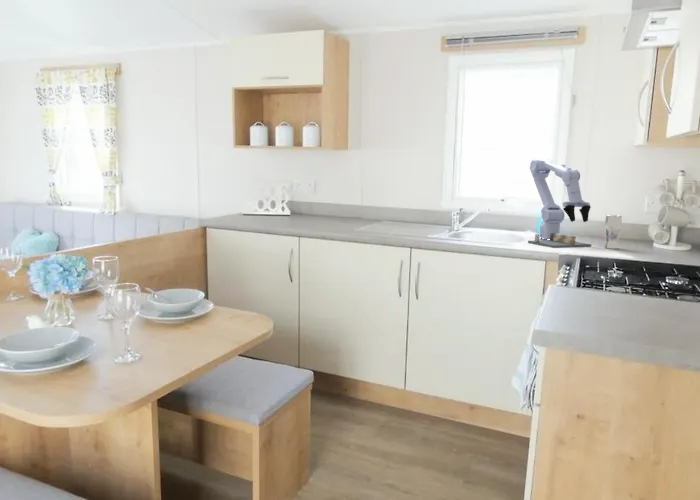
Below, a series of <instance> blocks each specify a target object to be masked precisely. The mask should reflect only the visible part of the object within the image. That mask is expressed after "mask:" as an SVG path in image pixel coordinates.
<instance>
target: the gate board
mask: <svg viewBox="0 0 700 500" xmlns="http://www.w3.org/2000/svg"><path fill="white" fill-rule="evenodd" d="M539 238H540V233H535V234H534V240H528V241H527V243H528V244H532V243H533V245H537V244H538V245H537V246H543V247H547V248H553V249H556V248H582V247H583V248H585V247H592V244H591V243H585V242H580V241H575V244H569V243H563V242H558V241H551V240H543V239H539Z"/></svg>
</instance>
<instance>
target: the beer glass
mask: <svg viewBox="0 0 700 500" xmlns="http://www.w3.org/2000/svg"><path fill="white" fill-rule="evenodd" d="M622 217H623V216H622V215H617V214H616V215H614V214H612V215H611V214H607V215H605V220H604V235H605V240H604V241H605V242H604V245H603V248H604V249H608V250H609V249H610V250H619V238H620V235H621V230H622V226H623V225H622V223H623V218H622Z"/></svg>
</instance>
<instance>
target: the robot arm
mask: <svg viewBox="0 0 700 500" xmlns="http://www.w3.org/2000/svg"><path fill="white" fill-rule="evenodd" d="M529 170H530V171H529V172H530V173H531V175H532V178H533V181H534V185H535V186H536V189H537V192H538V194H539V197H540V200H541V202H542V205H543V207H542V208H541V210H540V213H541V218H542V219H541V220H542V223H541V224H540V228H539V234H540V235H539V238H540V237H541V238H544V239H550V233H555V234H560V230H561V229H560V228H561V224H562V222H563V221H564V220H565V217H566V216H565V213H566V215H567V216H568V218H569V220H570V222H571V223H573V222H575V221H576V214H575V208H579V209H578V210H579V213H580V214H581V217H582V221H583V223H587V222H588V221H589V213H590V210H591V208H592V207H591V204H590V202H586V201H584V199H583V197H582V193H581V187H580V182H579V181H580V179H581V174H580V171H579V170H577V169H575V170H574V169H572V168H571V167H567V166H566V164H559V165H558V164H557V163H555V162H553V160H550V159H536V158H533V159H532V160H531V161H530V165H529ZM551 171H552V172H554V174H555V176H557V177H559V178H561V180H562V182H564V186H566V191H567V197H568V201H564V202H562V207H563V209H562V208H561V206H560V205H559V204H557V203H555V200H554V198H553V195H552V193H551V190H550V187H549V185H548V182H547V180H546V178H548V177H549V175H550V173H551Z"/></svg>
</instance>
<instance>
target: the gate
mask: <svg viewBox="0 0 700 500" xmlns="http://www.w3.org/2000/svg"><path fill="white" fill-rule="evenodd" d="M576 239H577V238H576V236H574V235H568V234H561V233H559V234H555V233H550V240H551V241H558V242H563V243H569V244H575V242H576Z"/></svg>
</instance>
